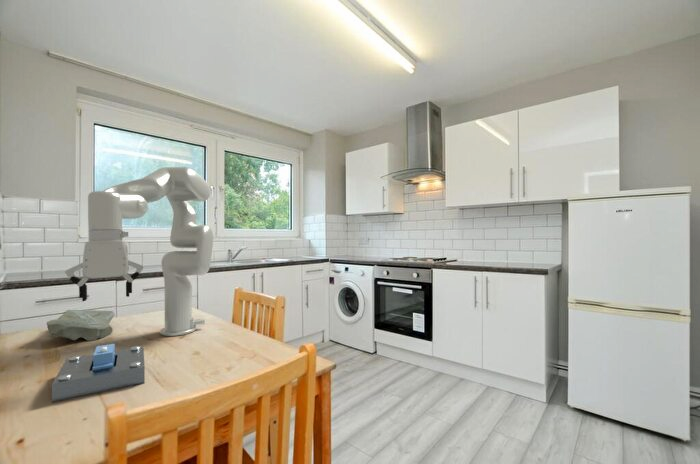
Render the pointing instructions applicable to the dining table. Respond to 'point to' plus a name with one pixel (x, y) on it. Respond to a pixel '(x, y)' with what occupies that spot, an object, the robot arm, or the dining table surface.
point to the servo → (104, 358)
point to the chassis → (98, 375)
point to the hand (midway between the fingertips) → (106, 297)
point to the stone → (82, 324)
